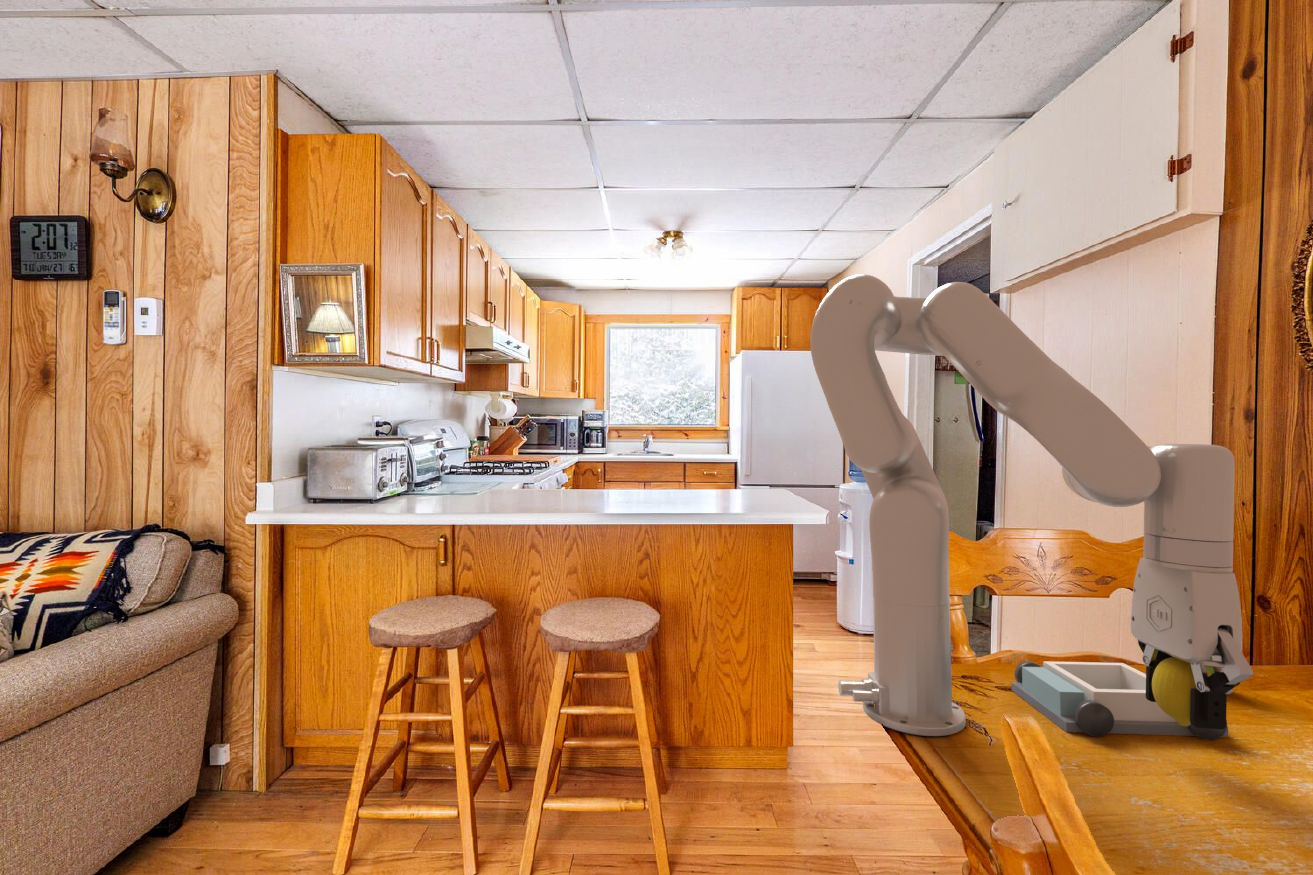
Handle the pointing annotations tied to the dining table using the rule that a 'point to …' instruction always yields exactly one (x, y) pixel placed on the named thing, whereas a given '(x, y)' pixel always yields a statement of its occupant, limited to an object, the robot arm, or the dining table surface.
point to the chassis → (1098, 699)
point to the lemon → (1174, 688)
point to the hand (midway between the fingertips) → (1183, 712)
